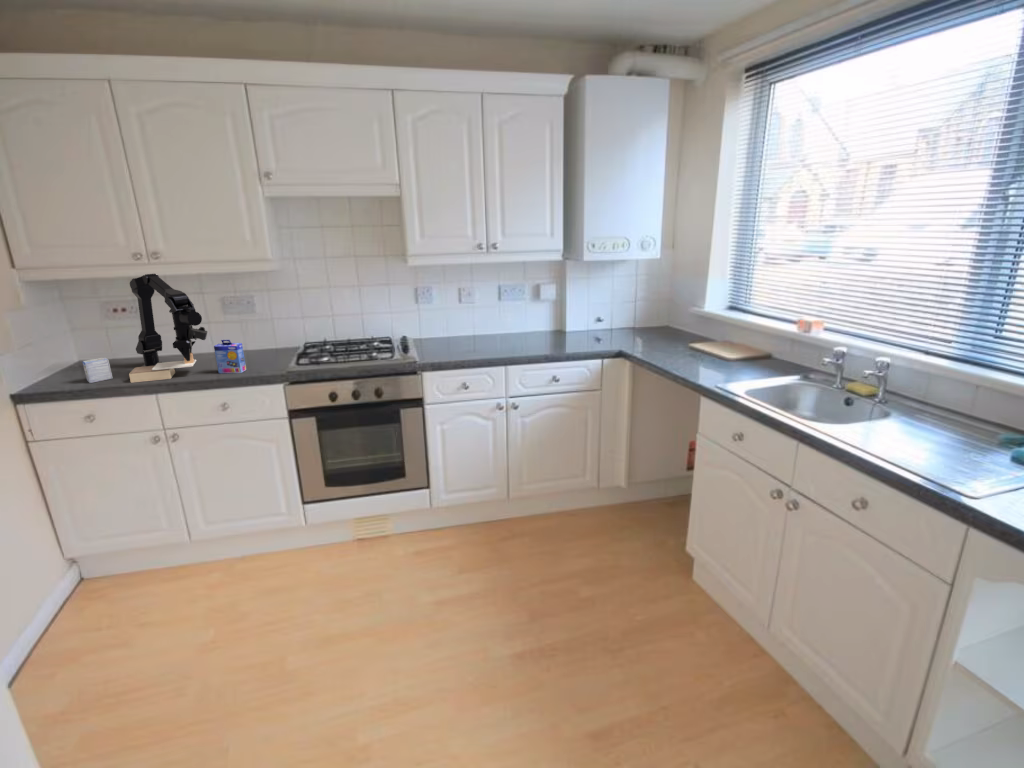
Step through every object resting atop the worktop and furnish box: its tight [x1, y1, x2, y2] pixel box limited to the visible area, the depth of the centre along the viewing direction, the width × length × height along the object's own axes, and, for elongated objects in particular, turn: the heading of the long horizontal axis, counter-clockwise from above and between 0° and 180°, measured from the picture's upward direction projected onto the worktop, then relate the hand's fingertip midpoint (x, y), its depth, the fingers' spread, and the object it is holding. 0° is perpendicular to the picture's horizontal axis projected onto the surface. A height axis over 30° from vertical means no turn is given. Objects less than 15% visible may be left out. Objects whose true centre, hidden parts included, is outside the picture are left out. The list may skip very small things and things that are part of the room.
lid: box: [152, 352, 197, 370], centre depth 226 cm, size 10×14×5 cm
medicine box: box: [81, 357, 113, 384], centre depth 221 cm, size 8×4×9 cm, turn 141°
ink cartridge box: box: [213, 339, 247, 374], centre depth 229 cm, size 10×6×14 cm, turn 93°
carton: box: [128, 366, 176, 384], centre depth 224 cm, size 10×14×4 cm
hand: (189, 360), depth 228 cm, fingers closed on lid, 2 cm apart
